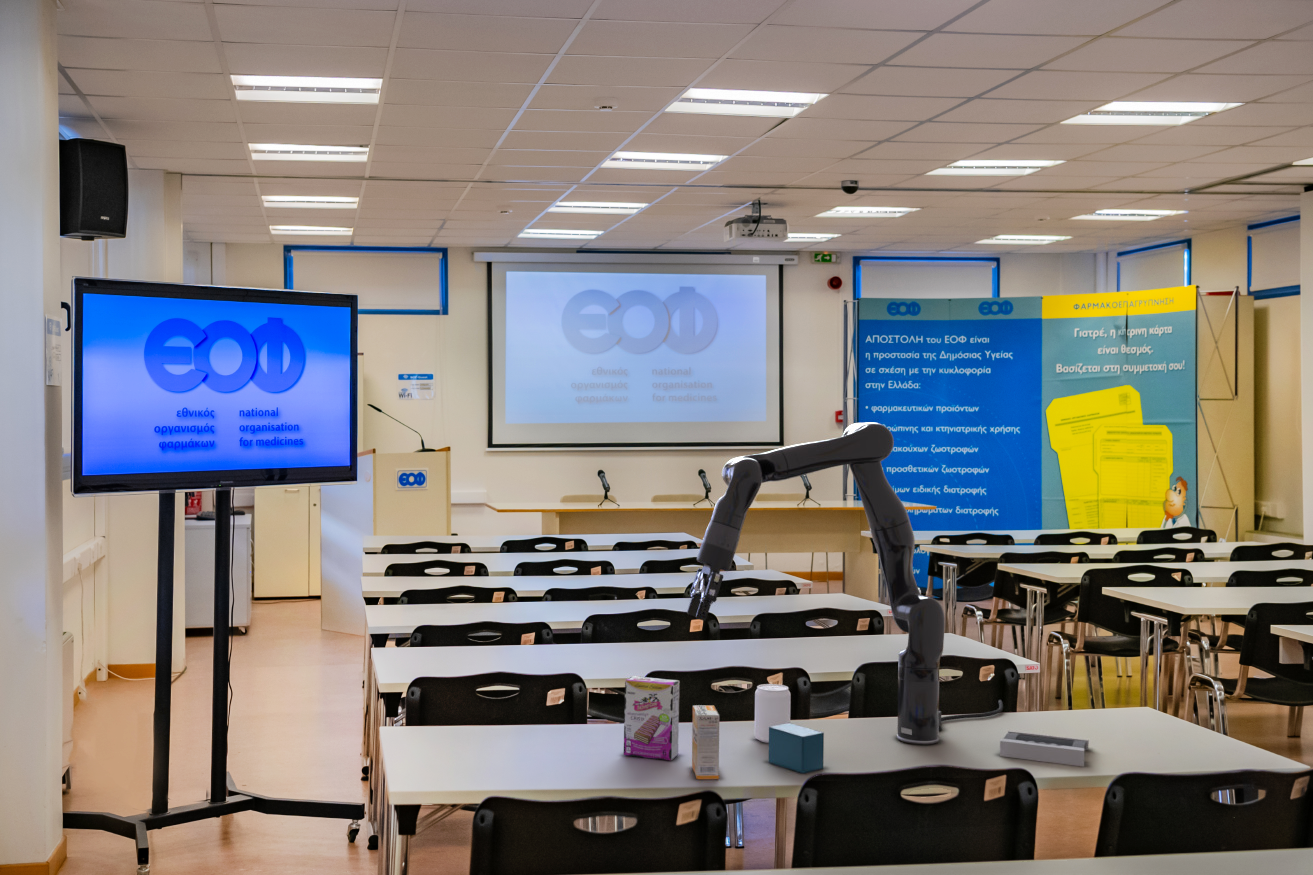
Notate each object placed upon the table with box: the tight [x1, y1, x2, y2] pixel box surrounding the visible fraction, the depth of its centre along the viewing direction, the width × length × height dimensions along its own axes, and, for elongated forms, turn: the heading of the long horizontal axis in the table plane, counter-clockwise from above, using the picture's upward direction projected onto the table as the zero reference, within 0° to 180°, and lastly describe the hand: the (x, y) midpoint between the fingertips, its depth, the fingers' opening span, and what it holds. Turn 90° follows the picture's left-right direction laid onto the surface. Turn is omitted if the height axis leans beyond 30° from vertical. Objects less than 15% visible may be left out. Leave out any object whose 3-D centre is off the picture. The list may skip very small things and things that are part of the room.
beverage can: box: [753, 683, 792, 744], centre depth 251 cm, size 8×8×12 cm
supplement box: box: [691, 704, 720, 780], centre depth 224 cm, size 8×5×13 cm, turn 5°
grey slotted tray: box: [999, 730, 1090, 767], centre depth 244 cm, size 17×5×16 cm
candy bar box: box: [623, 675, 681, 761], centre depth 237 cm, size 11×5×16 cm, turn 71°
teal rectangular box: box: [767, 722, 825, 775], centre depth 231 cm, size 10×6×8 cm, turn 39°
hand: (695, 617), depth 236 cm, fingers open, 8 cm apart
